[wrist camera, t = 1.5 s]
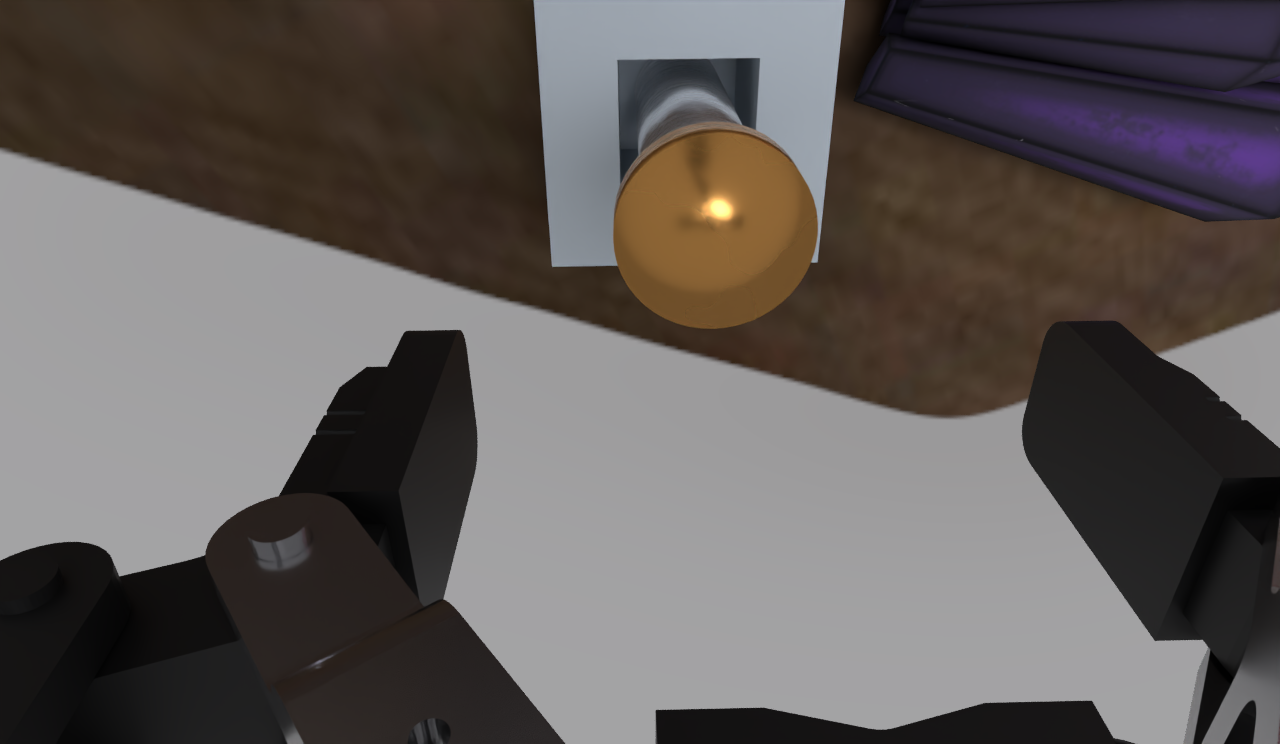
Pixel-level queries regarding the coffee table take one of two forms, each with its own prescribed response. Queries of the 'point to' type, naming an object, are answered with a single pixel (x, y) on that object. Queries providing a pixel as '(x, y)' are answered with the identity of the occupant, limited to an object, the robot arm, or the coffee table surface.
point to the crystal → (1100, 91)
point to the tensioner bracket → (672, 29)
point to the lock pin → (708, 205)
